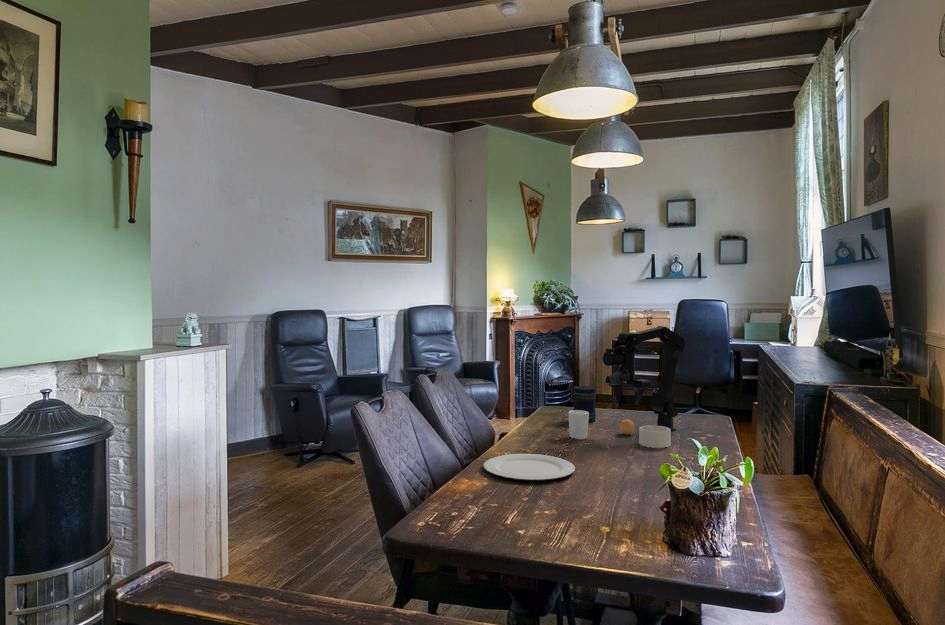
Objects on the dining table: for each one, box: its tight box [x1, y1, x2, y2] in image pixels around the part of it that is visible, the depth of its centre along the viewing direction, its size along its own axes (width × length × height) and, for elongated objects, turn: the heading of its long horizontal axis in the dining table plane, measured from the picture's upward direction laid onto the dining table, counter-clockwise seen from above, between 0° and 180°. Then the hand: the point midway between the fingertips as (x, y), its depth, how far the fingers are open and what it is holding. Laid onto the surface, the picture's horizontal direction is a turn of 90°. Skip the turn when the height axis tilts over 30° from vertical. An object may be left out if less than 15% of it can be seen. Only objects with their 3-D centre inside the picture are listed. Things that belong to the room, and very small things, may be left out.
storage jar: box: [572, 385, 597, 424], centre depth 276 cm, size 10×10×15 cm
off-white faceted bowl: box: [638, 424, 672, 449], centre depth 234 cm, size 11×11×6 cm
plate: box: [483, 453, 576, 482], centre depth 199 cm, size 29×29×2 cm
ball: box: [619, 418, 636, 436], centre depth 250 cm, size 6×6×6 cm
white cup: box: [568, 410, 589, 440], centre depth 245 cm, size 8×8×10 cm
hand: (627, 403), depth 250 cm, fingers open, 9 cm apart
